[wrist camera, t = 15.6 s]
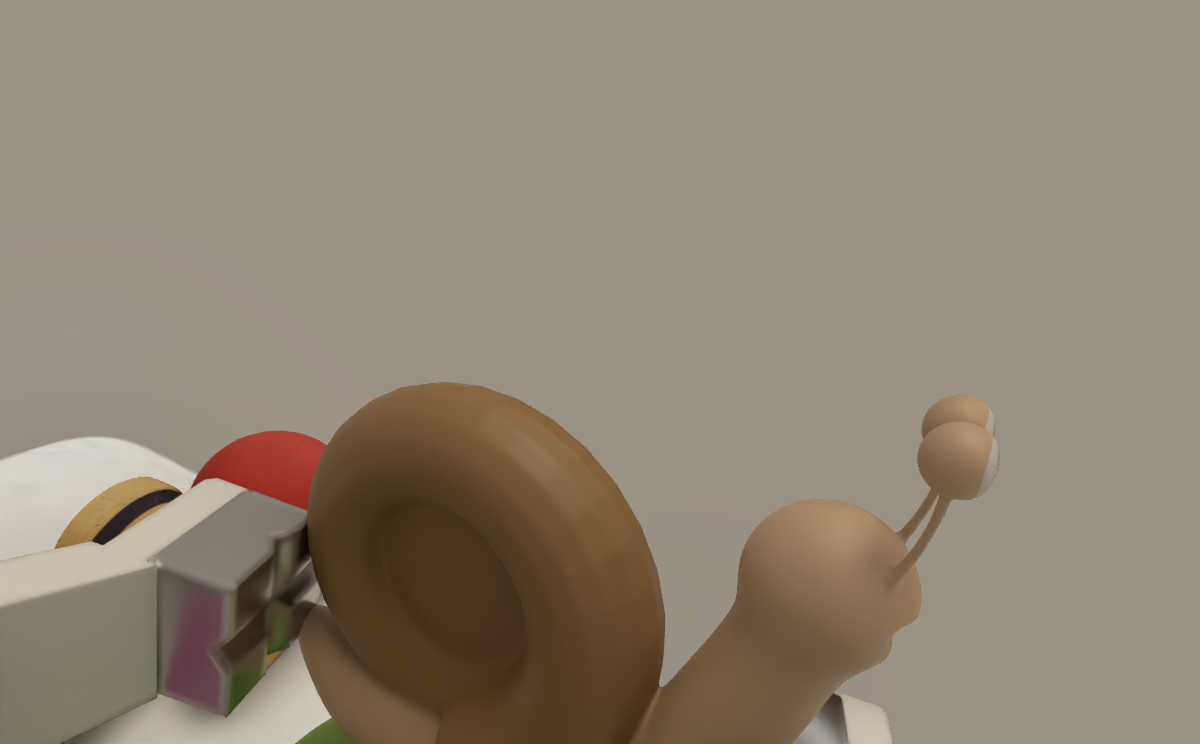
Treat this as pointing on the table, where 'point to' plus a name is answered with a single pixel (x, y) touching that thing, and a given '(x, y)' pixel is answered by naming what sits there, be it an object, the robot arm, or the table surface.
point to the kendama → (248, 462)
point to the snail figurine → (581, 586)
